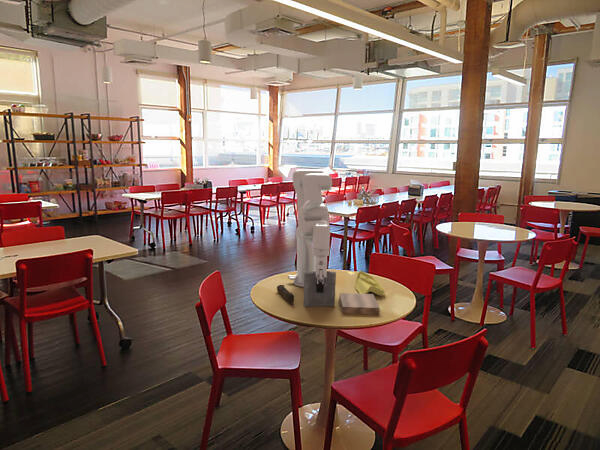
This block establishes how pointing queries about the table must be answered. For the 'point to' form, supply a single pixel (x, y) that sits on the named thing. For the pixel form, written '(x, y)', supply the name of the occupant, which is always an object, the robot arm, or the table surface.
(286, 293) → the hand tool
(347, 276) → the table surface
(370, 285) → the plastic component
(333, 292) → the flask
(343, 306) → the brown flat square piece
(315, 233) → the robot arm
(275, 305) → the table surface
